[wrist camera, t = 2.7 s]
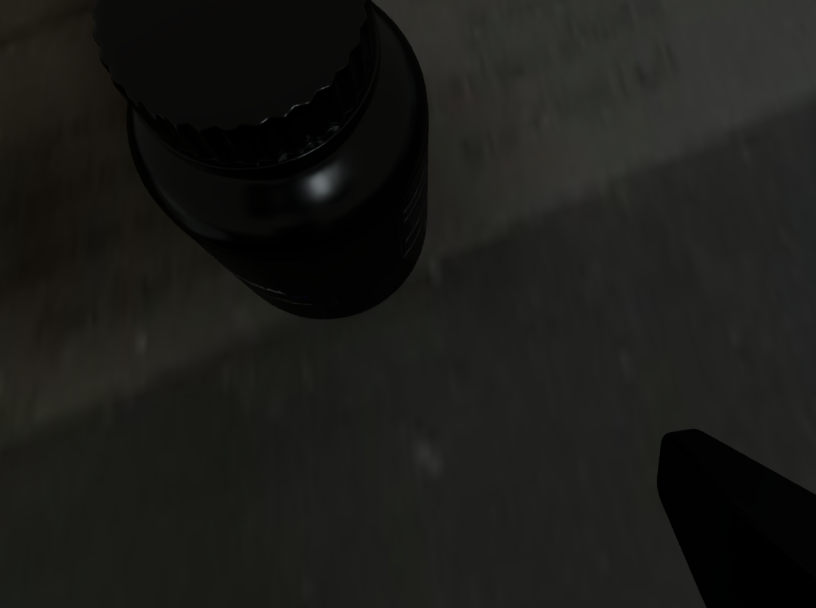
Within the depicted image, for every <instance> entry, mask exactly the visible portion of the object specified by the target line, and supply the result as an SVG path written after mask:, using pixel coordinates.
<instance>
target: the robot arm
mask: <svg viewBox="0 0 816 608" xmlns="http://www.w3.org/2000/svg"><path fill="white" fill-rule="evenodd" d="M657 488H658V493H659V497H660V500H661V502H662V505H663V507H664V509H665V512H666V514H667V516H668V519H669V521H670V523H671V526H672V528H673V531H674V533H675V535H676V538H677V540H678V542H679V545H680V547H681V549H682V552H683V554H684V556H685V559H686V561H687V564H688V566H689V568H690V571H691V573H692V575H693V578H694V580H695V582H696V585H697V587H698V589H699V592H700V594H701V596H702V599H703V601H704V603H705V605H706V607H707V608H816V495H815V494H814V493H812V492H810V491H808V490H806V489H805V488H803V487H801V486H799V485H797V484H796V483H794V482H792V481H790V480H789V479H787V478H785V477H783V476H781V475H780V474H778V473H776V472H774V471H772V470H771V469H769V468H767V467H765V466H763V465H762V464H760V463H758V462H756V461H755V460H753V459H751V458H749V457H747V456H746V455H744V454H742V453H740V452H738V451H737V450H735V449H733V448H731V447H729V446H728V445H726V444H724V443H722V442H720V441H719V440H717V439H715V438H713V437H712V436H710V435H708V434H706V433H704V432H702V431H700V430H697V429H688V430H681V431H675V432H669V433H667V434H665V435H664V436H663V438H662V441H661V447H660V456H659V466H658V475H657Z"/></svg>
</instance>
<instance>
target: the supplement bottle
mask: <svg viewBox="0 0 816 608" xmlns="http://www.w3.org/2000/svg"><path fill="white" fill-rule="evenodd" d="M92 15H93V17H94V20H95V22H96V23H95V27H94V32H93V37H94V39H95V41H96V42H97V44H98V45H99V47H100V52H99V53H100V60H101V62H102V64H103V66H104V67H105V68H106V69H107V71H108V72H109V73H110V75H111V78H112V81H113V84H114V85H115V87H116V88H117V89H118V91H119V92H120V93H121V94H122V95H123V96H124V98H125V99H126V100H127V101H128V102H127V133H128V141H129V146H130V150H131V155H132V158H133V161H134V164H135V166H136V169H137V172H138V174H139V176H140V178H141V180H142V182H143V184H144V186H145V187H146V189H147V190H148V192H149V194H150V195H151V197H152V198H153V199H154V200H155V202H156V203H157V204H158V205H159V207H160V208H161V209H162V210H163V211H164V212H165V213H166V215H167V216H168V217H169V218H170V219H171V220H172V221H173V222H174V223H175V224H176V225H177V226H179V227H180V228H181V229H182V230H183V231H184V232H185V233H187V234H188V235H189V236H190V237H191V238H192V239H193V240H195V241H196V242H197V243H198V244H199V245H200V246H202V247H203V248H204V249H205V250H206V251H207V252H208V253H210V254H211V255H212V256H213V257H214V258H215V259H217V260H218V261H219V262H220V263H221V264H222V265H223V266H225V267H226V268H227V269H228V270H229V271H230V272H232V273H233V274H234V275H235V276H236V277H237V278H238V279H240V280H241V281H242V282H243V283H244V284H245V285H247V286H248V287H249V288H250V289H251V290H252V291H254V292H255V293H256V294H257V295H259V296H260V297H261V298H263V299H264V300H265V301H267V302H268V303H270V304H271V305H273V306H275V307H277V308H279V309H281V310H283V311H286V312H288V313H290V314H294V315H297V316H300V317H305V318H311V319H337V318H344V317H348V316H352V315H355V314H359V313H361V312H364V311H366V310H369V309H371V308H372V307H374V306H376V305H378V304H379V303H381V302H382V301H384V300H385V299H387V298H388V297H389V296H390V295H392V294H393V293H394V292H395V291H396V290H397V289H398V288H399V287H400V286H401V285H402V284H403V283H404V281H405V280H406V279H407V277H408V276H409V275H410V273H411V272H412V270H413V268H414V266H415V264H416V263H417V260H418V258H419V256H420V253H421V250H422V246H423V243H424V239H425V233H426V223H427V193H428V133H429V119H428V101H427V93H426V86H425V82H424V77H423V73H422V70H421V67H420V65H419V62H418V59H417V57H416V55H415V53H414V51H413V49H412V47H411V45H410V43H409V42H408V40H407V39H406V37H405V35H404V34H403V33H402V31H401V30H400V29H399V27H398V26H397V25H396V24H395V22H394V21H393V20H392V19H391V18H390V17H389V16H388V15H387V14H386V13H385V12H384V11H383V10H382V9H380V8H379V7H378V6H377V5H376V4H375V3H373V2H372V1H371V0H96V2H95V4H94V6H93V8H92Z"/></svg>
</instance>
